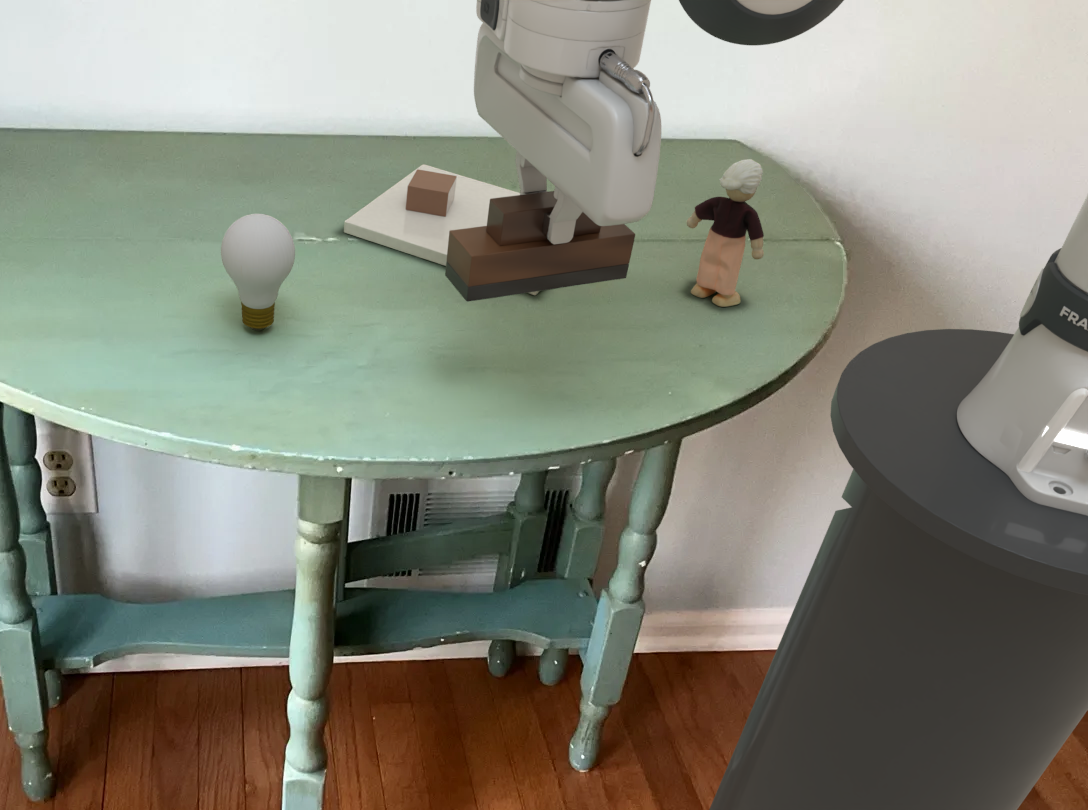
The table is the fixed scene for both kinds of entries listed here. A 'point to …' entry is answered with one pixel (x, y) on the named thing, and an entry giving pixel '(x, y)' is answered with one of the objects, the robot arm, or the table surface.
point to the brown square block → (431, 192)
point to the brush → (532, 251)
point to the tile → (424, 217)
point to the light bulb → (258, 264)
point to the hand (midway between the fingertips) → (544, 227)
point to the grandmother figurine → (728, 233)
